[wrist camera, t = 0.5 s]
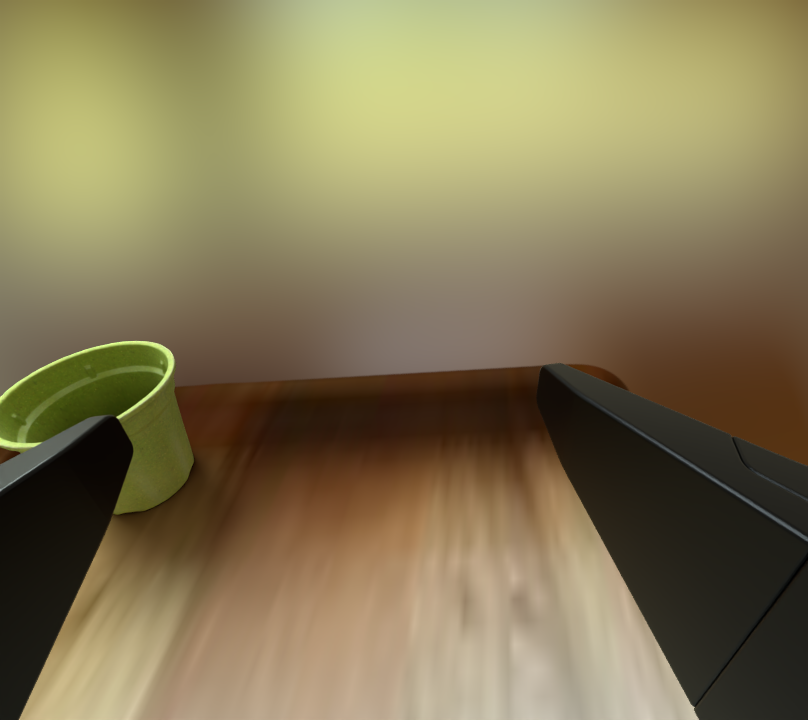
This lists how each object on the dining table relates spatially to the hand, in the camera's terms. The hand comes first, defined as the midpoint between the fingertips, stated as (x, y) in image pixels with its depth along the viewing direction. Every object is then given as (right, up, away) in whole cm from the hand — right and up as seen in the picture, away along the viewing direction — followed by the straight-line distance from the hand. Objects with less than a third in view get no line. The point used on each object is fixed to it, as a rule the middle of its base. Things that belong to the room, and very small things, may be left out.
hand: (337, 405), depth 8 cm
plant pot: (-17, -8, +20) cm, 27 cm away
